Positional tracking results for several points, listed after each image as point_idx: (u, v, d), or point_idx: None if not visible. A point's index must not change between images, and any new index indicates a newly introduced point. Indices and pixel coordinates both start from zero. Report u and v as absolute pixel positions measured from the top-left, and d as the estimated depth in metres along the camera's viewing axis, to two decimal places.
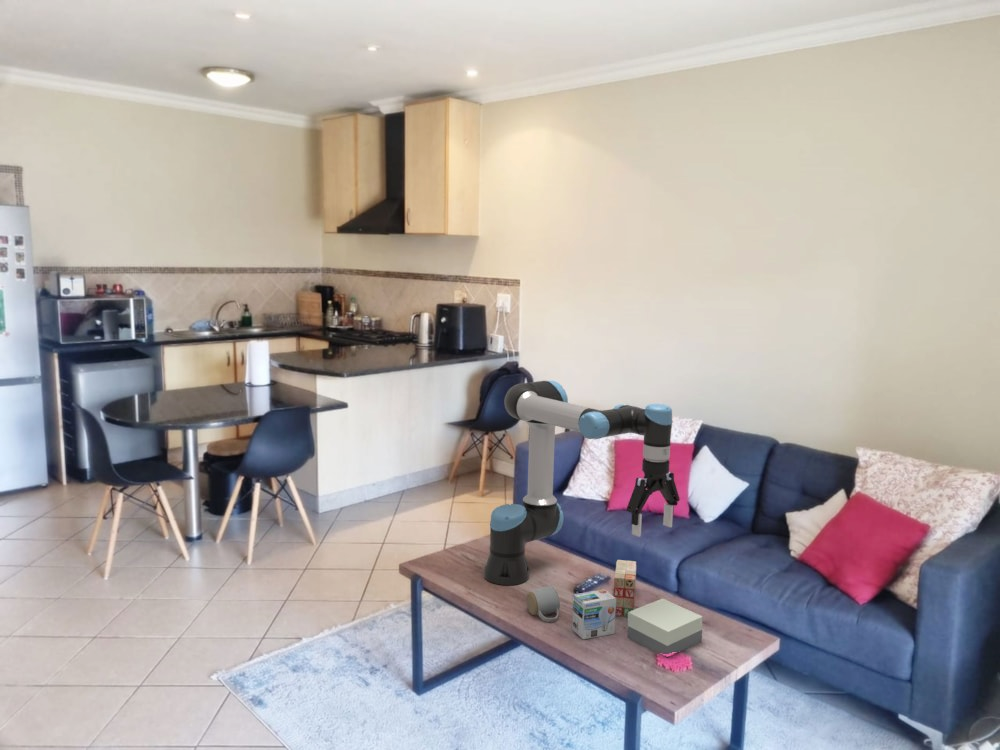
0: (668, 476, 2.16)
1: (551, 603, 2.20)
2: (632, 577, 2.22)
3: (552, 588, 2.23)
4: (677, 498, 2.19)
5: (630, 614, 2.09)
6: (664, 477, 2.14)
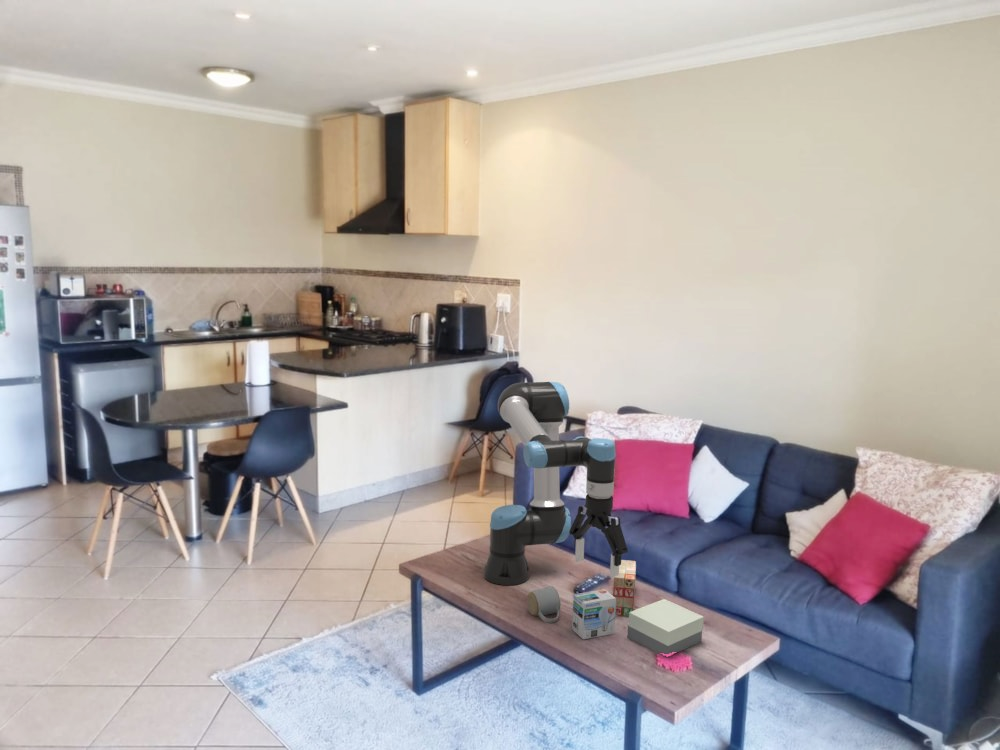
0: None
1: (552, 603, 2.20)
2: (632, 577, 2.22)
3: (553, 588, 2.23)
4: (619, 550, 2.01)
5: (631, 614, 2.08)
6: (603, 517, 2.05)
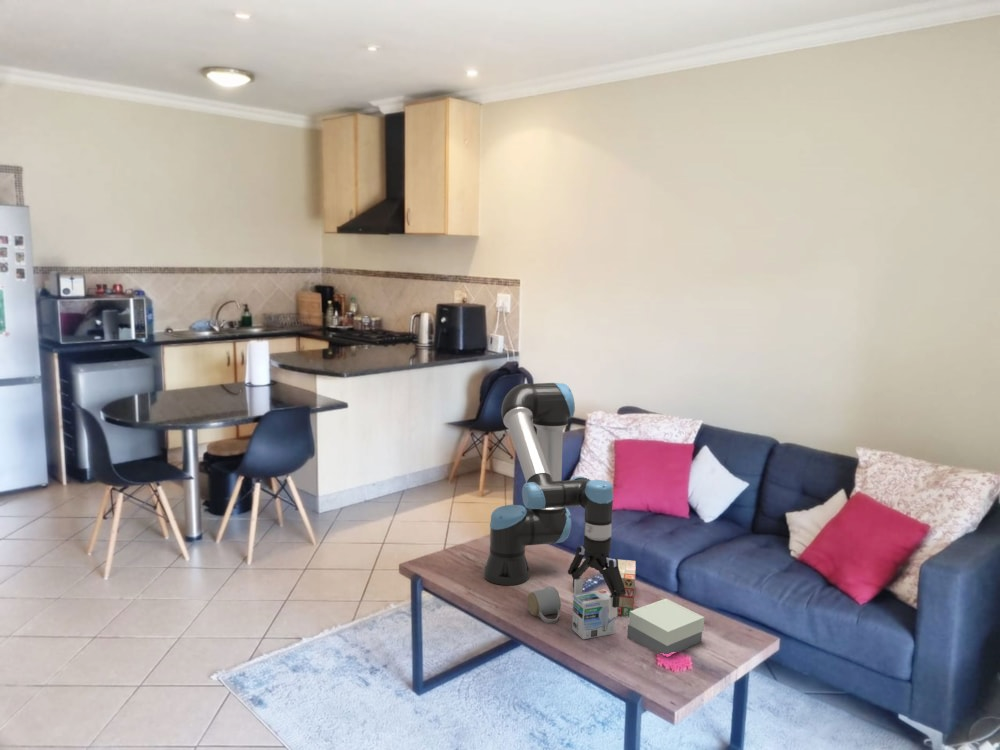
0: None
1: (552, 604, 2.20)
2: (631, 576, 2.22)
3: (553, 589, 2.23)
4: (617, 592, 2.03)
5: (631, 613, 2.09)
6: (601, 559, 2.07)
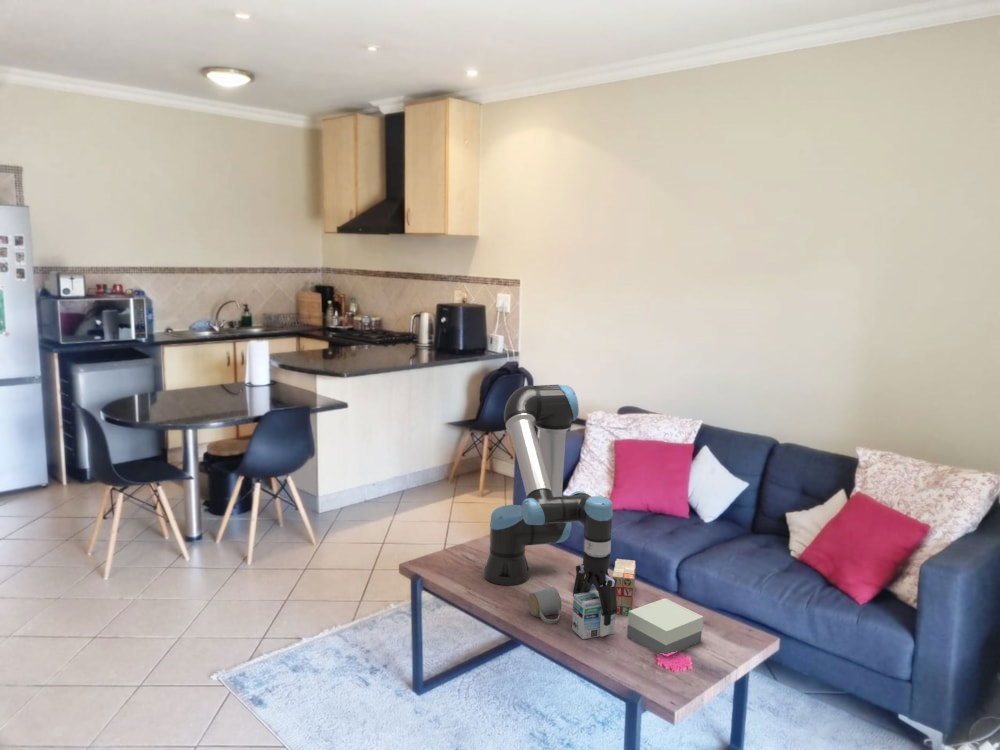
0: (608, 581, 2.06)
1: (553, 604, 2.19)
2: (630, 576, 2.23)
3: (554, 589, 2.22)
4: (608, 611, 2.06)
5: (630, 613, 2.09)
6: (600, 575, 2.08)
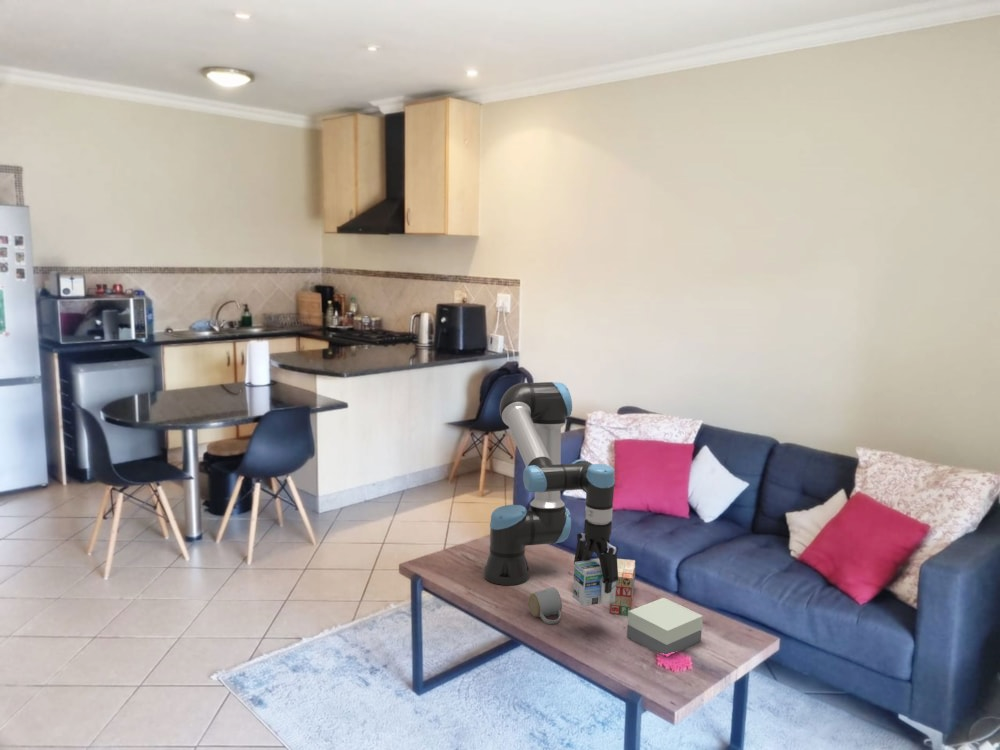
0: None
1: (553, 605, 2.19)
2: (629, 576, 2.23)
3: (554, 590, 2.22)
4: (610, 578, 2.05)
5: (630, 613, 2.09)
6: (601, 543, 2.06)
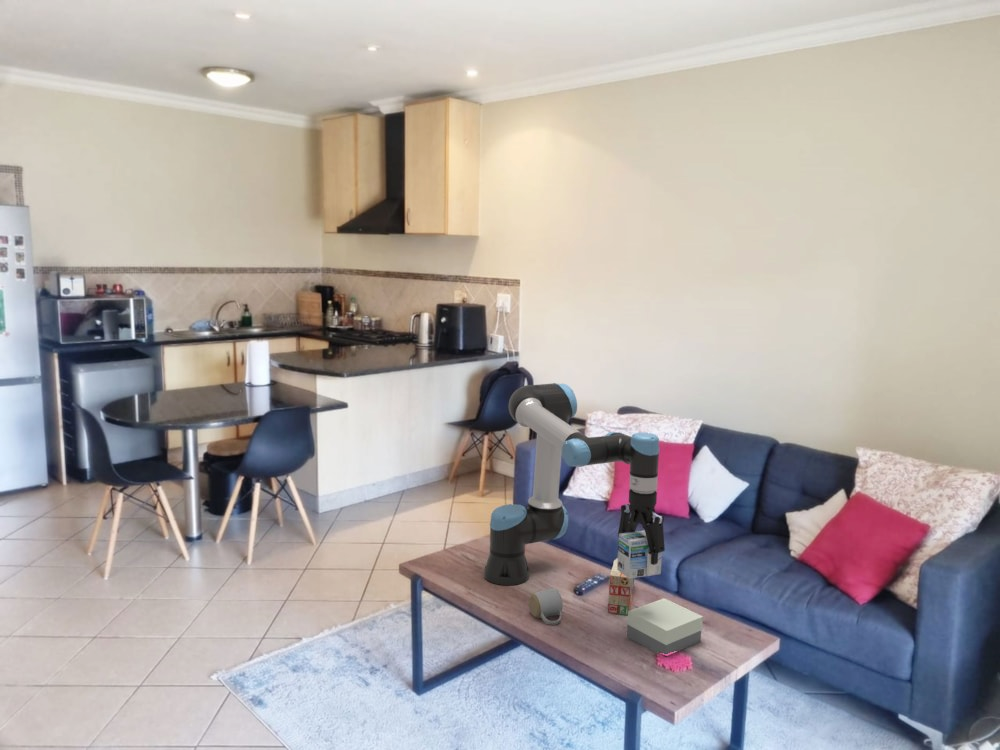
0: None
1: (554, 605, 2.19)
2: None
3: (555, 590, 2.22)
4: (656, 548, 2.00)
5: (630, 613, 2.09)
6: (647, 512, 2.02)
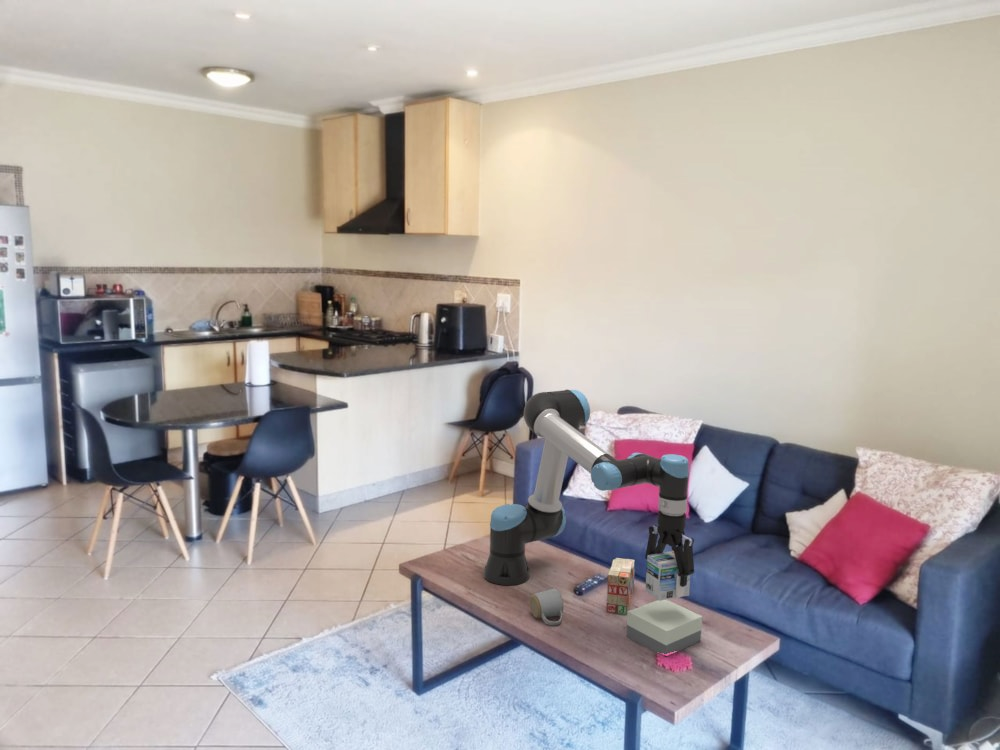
0: (685, 540, 2.01)
1: (554, 606, 2.18)
2: (626, 575, 2.24)
3: (555, 591, 2.21)
4: (686, 571, 2.00)
5: (630, 613, 2.09)
6: (676, 535, 2.02)
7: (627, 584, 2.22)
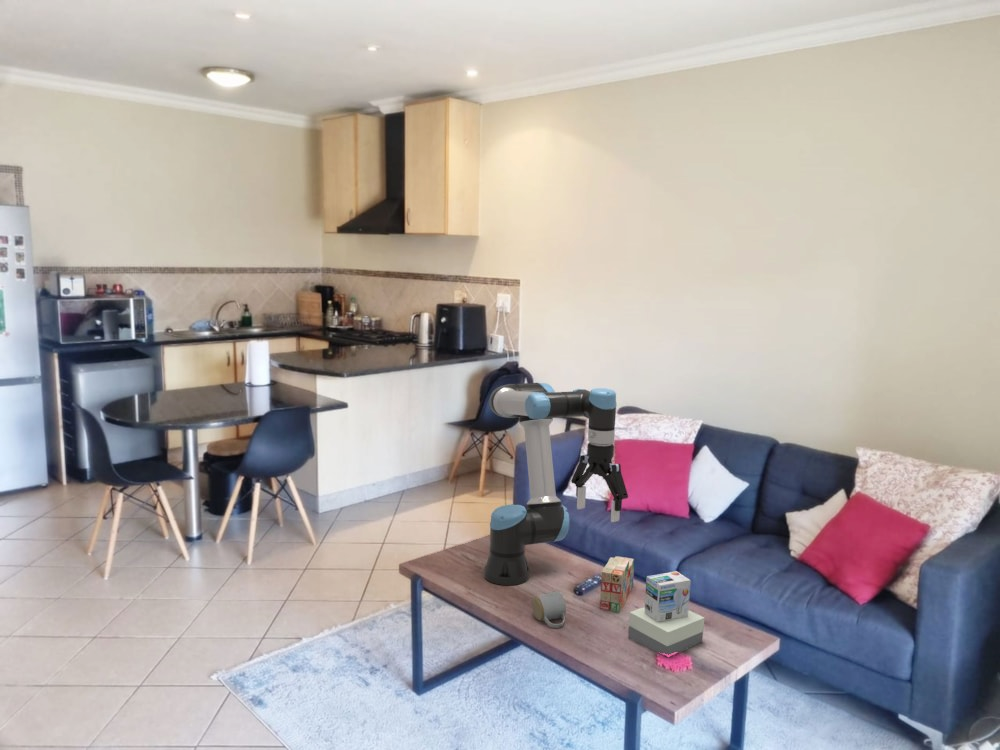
0: None
1: (557, 609, 2.17)
2: (619, 573, 2.25)
3: (558, 593, 2.20)
4: (619, 495, 2.08)
5: (631, 614, 2.09)
6: (604, 464, 2.12)
7: (620, 582, 2.24)
